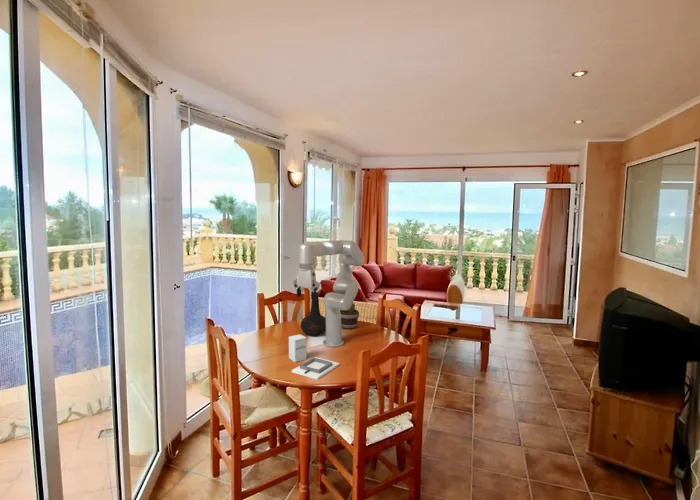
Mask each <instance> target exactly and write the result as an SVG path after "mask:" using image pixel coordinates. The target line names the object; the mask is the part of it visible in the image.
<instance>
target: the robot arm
mask: <svg viewBox="0 0 700 500" xmlns="http://www.w3.org/2000/svg"><path fill="white" fill-rule="evenodd" d="M298 249H299V259H298V260H299V261H298V263H299V264H298V265H299V268H298V270H297V277H296V279H294V280H293V281H292V283H293V286H294V288H295V290H296V297H297V298H299V297H302V288H305V289H310V290H311V292H310V299H311V300H312V299H315V298H316V292H318V290H319V289H320V286H321V283H319V282H318V281H317V277H316V270H315V269H314V268H315V267H316V266H315V265H314V257H322V256H334V255H338V262H339V263H338V264H339V273H338V274H337V277H336V278H335V280H334V283H333V285H332V290H333V292H327V293H326V294H325V295H324V297H323V305H324V310H325V318H326V331H325V339H324V340H323V341H322V344H323V345H324V346H326V347H329V348H330V347H331V348H336V347H341V346H343V345H344V344H345V342H344V340H343V339H342V338H344V337H345V334H344V333H342V326H341V313H340V310H345V311H346V310H349V309H350V307H351V305H352V303H353V301H355V299H356V296H357V295H358V292H359V283H358V281H357V280H355V279H352V278H353V275H354V274H353V270H352V268H351V266H354V267H361V266H362V265H363V264H364V262H365V256H364V253H363V252H362V250H361V249H360V247H359V245H358V244H357V243H356V241H353V240H347V239H346V240H345V239H337V240H321V241H306V242H303V243H302V244H300V245H299V248H298Z"/></svg>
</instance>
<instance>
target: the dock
mask: <svg viewBox="0 0 700 500" xmlns="http://www.w3.org/2000/svg"><path fill="white" fill-rule="evenodd" d="M339 366H340V363H339V362H338V361H333V360H329V359H325V358H321V357H316V356H314V357H312V358H310V359H308V360H307V361H305V362H303V363H302V364H299V366H297V367H295V368H293V369H292V370H291V373H293V374H297V375H301V376H304V377H307V378H310V379H314V380H320V379H321V378H323V377H324V376H325V375H326V374H328V373H330V372H331V371H332V370H334V369H335V368H337V367H339Z"/></svg>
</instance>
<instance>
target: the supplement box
mask: <svg viewBox="0 0 700 500" xmlns="http://www.w3.org/2000/svg"><path fill="white" fill-rule="evenodd" d="M288 359H290V360H291V361H293V363H297V362H301V361H306V360H307V337H306V336H305V335H302V334H301V333H300V334H295V335H290V336H288Z"/></svg>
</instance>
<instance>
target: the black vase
mask: <svg viewBox="0 0 700 500" xmlns="http://www.w3.org/2000/svg"><path fill="white" fill-rule="evenodd" d="M319 297H320V294H319V292H318V291H316V298H315V299H311V305H310V310H309V314H308V315H307V316H304V317H303V318H302V319H301V322H300V329H301V330H302V332H303V333H304V335H306V336H311V337H320V336H322V335H324V334H325V333H326V316H323V315H322V314H321V312H320V304H319V303H320V301H319Z"/></svg>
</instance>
